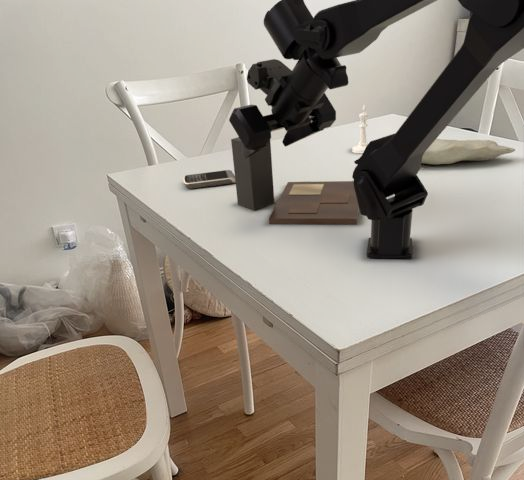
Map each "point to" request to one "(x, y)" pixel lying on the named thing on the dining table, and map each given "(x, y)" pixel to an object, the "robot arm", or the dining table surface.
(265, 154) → the dark grey rectangular block
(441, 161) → the stone tool replica
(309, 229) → the dining table surface
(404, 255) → the robot arm
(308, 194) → the game board
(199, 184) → the cell phone
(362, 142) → the chess piece
